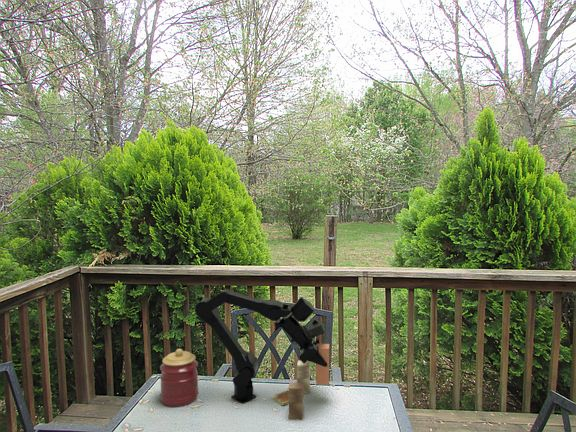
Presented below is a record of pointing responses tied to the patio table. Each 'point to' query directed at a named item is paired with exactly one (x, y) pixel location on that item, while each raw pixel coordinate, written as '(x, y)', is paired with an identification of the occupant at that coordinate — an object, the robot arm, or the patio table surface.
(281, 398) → the shard
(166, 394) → the canister
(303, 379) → the birch block
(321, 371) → the salmon orange block
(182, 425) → the patio table surface
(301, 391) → the walnut block
